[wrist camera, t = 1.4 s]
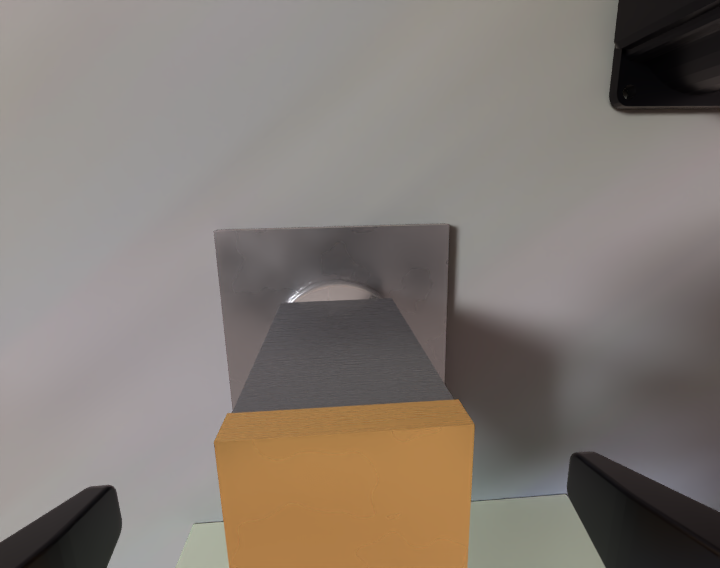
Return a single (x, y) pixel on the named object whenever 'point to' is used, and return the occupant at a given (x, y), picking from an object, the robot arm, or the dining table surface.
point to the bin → (486, 537)
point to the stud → (330, 280)
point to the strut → (345, 447)
